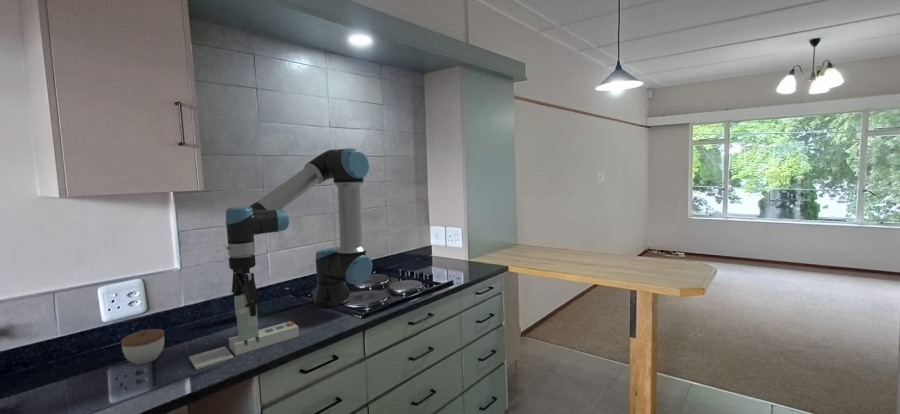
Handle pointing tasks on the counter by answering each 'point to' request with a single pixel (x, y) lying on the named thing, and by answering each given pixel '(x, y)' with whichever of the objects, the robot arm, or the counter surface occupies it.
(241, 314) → the block
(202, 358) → the mat
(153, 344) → the lidded jar
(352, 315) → the counter surface
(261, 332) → the power strip
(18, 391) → the counter surface
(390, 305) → the counter surface
